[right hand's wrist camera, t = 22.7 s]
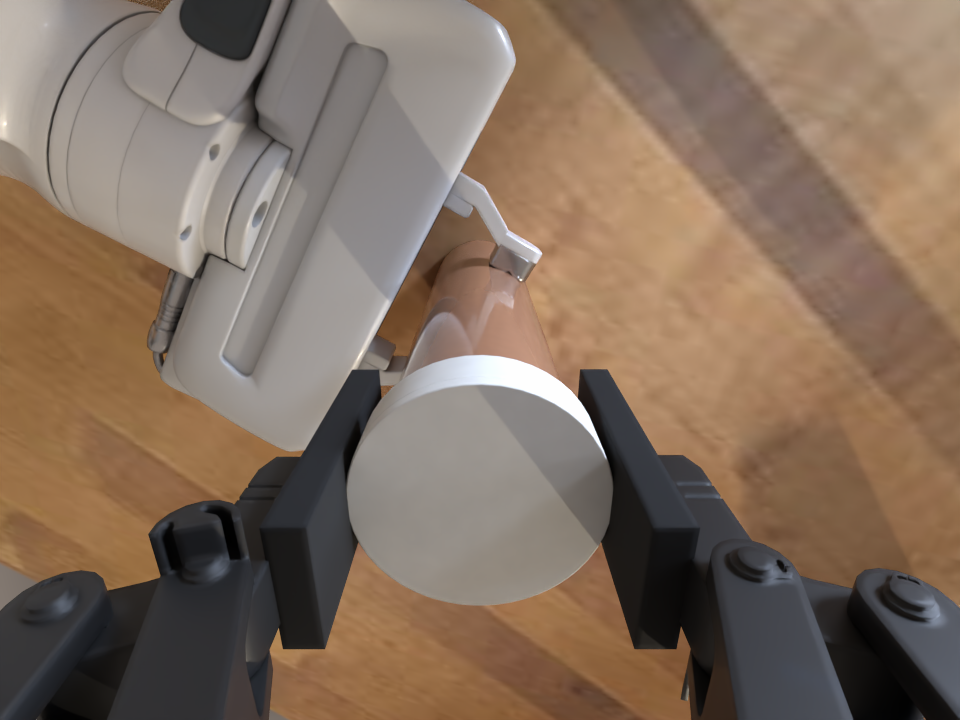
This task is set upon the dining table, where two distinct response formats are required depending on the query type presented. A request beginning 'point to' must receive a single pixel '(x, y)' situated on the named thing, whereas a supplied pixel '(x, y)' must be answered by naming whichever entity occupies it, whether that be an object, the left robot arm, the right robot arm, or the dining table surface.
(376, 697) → the dining table surface
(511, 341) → the brown cylinder
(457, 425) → the lid
